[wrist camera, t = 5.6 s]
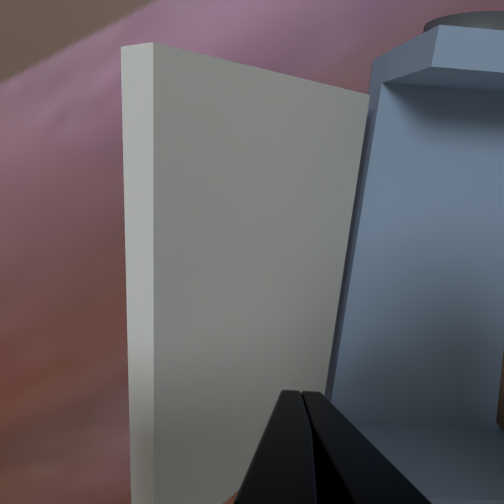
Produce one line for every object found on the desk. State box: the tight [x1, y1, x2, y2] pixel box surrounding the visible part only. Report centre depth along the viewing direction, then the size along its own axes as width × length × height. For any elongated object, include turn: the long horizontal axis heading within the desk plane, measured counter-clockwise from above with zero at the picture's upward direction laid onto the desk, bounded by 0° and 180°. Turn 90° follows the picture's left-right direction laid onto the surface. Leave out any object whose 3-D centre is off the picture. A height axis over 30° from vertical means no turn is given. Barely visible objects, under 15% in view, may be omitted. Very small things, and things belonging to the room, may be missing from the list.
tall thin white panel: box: [121, 42, 370, 504], centre depth 13 cm, size 14×1×9 cm
